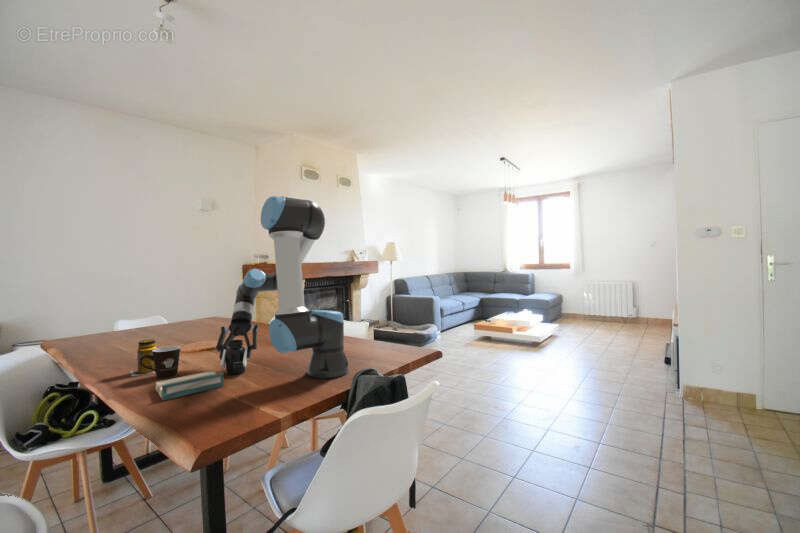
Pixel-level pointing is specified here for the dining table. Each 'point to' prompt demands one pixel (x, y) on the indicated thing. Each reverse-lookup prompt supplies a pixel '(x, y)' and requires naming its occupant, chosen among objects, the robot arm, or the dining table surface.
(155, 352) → the coffee mug
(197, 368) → the dining table surface
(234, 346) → the supplement bottle
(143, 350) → the condiment
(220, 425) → the dining table surface
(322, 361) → the robot arm
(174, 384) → the teal and cream book
